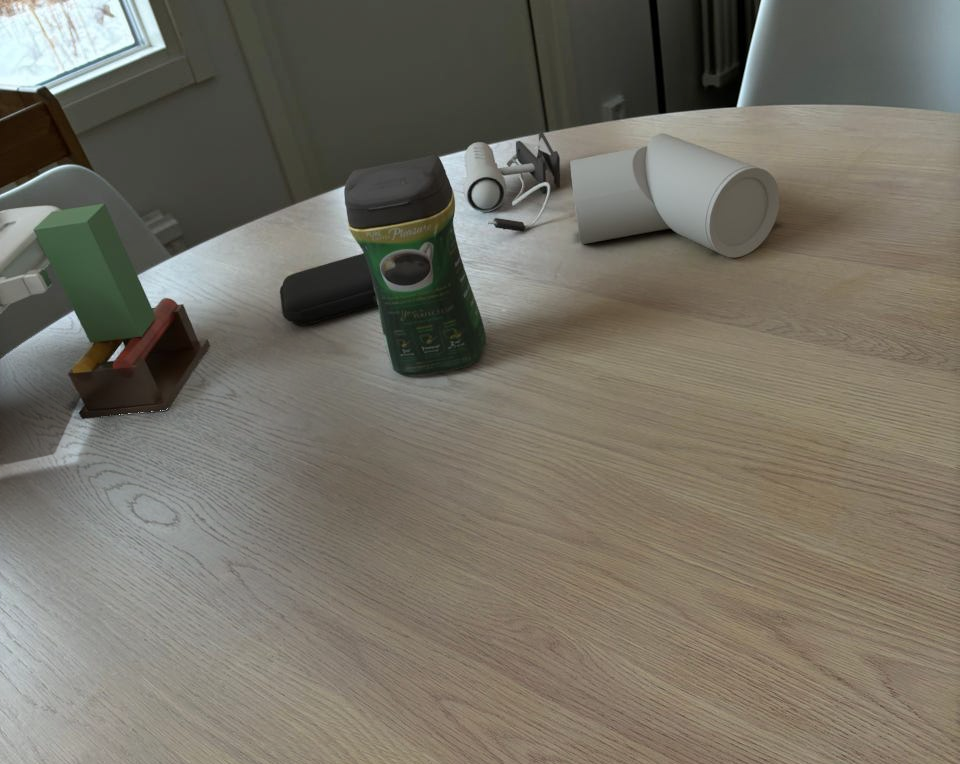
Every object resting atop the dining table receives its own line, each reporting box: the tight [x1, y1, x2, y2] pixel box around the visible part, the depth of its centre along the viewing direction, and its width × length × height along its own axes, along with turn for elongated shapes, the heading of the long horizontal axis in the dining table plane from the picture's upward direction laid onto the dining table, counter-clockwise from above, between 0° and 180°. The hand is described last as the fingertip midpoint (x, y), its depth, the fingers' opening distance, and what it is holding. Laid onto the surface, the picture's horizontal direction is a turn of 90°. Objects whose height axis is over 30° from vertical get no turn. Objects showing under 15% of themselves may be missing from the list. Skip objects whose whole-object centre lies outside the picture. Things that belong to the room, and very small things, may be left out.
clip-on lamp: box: [463, 131, 561, 233], centre depth 124 cm, size 12×6×18 cm
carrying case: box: [279, 253, 378, 326], centre depth 115 cm, size 11×3×15 cm
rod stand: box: [67, 297, 211, 420], centre depth 110 cm, size 10×13×6 cm
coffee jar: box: [343, 154, 487, 377], centre depth 97 cm, size 10×8×19 cm
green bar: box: [33, 203, 156, 344], centre depth 104 cm, size 6×4×12 cm, turn 80°
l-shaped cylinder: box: [569, 133, 780, 259], centre depth 108 cm, size 18×11×20 cm
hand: (67, 257), depth 103 cm, fingers open, 8 cm apart
